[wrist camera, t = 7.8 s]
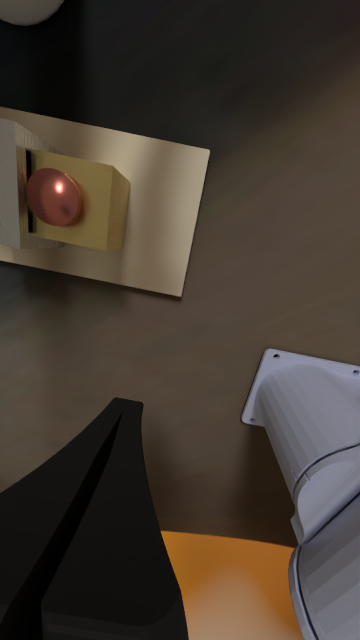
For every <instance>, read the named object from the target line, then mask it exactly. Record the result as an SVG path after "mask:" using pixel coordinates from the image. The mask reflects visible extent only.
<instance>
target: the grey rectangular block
mask: <svg viewBox="0 0 360 640" xmlns="http://www.w3.org/2000/svg"><path fill="white" fill-rule="evenodd" d="M31 149H36V150H41V151H45V152H50V153H55V154H60V155H64V154H62V153H61V152H59V151H58V150H57V149H55V148H54V147H52V146H51V145H49V144H48V143H46V142H45V141H43V140H42V139H40V138H39V137H37V136H36V135H34V134H33V133H32V132H30V131H29V130H27V129H26V128H24V127H23V126H21V125H20V124H18V123H17V122H15V121H12V120H7V119H2V118H0V245H3V246H8V247H13V248H18V249H31V248H60V247H65V242H61V241H56V240H51V239H46V238H41V237H37V236H33V228H28V209H27V177H26V163H28V164H31ZM64 156H65V155H64Z"/></svg>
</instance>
